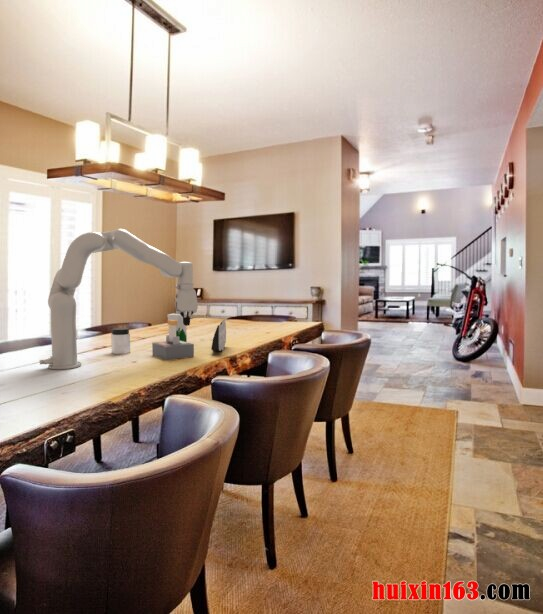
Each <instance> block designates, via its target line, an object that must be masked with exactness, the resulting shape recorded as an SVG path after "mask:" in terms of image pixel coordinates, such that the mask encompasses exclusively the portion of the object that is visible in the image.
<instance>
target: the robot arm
mask: <svg viewBox="0 0 543 614" xmlns="http://www.w3.org/2000/svg"><path fill="white" fill-rule="evenodd" d="M118 249H119V250H120V251H122V252H124V253H125V254H128V255H129V256H131V257H132V258H134V259H136V260H137V261H139V262H141V263H143V264H148V265H151V266H153V267H155V268H157V269H158V270H159V273H160V275H161V276H162V277H165V278H177V280H176V281H177V284H176V285H175V286H174V289H176V293H175V298H174V299H175V301H174V308H175V309H174V310H176V314H180V315H181V316H182V317H183V324H184V325H185V326H186V327H188V326H190V325H191V317H192V315H193V314H195V313H197V312H198V311H197V310H198V308H199V307H198V304H199V303H198V296H197V291H196V290H195V289H194V288H195V287H194V265H193V263H192V262H191V261H177V260H176V259H175V258H173V257H171V256H170V255H168V254H167V253H165V252H163V251H161V250H159V249H157V248H156V247H153V246H152V245H151V244H150V245H149V244H148V243H146V242H145V241H144V240H142V239H140V238H138V237H137V236H136V235H134V234H132V233H131V232H129V231H128V230H127V229H124V228H116V229H114V230H110V231H103V232H98V231H90V232H86V233H83V234H80V235H79V236H77V237H76V238H75V239H74V240H72V242H71V243H70V245H69V246H68V248H67V250H66V253H65V256H64V258H63V261H62V263H61V264H62V265H61V268H60V269H58V270H57V271H56V273H55V275H54V278H53V282H52V283H51V287H50V292H49V295H48V299H47V305H48V307H49V309H50V333H51V355H50V357H48V358H47V359H46V358H43V359H39V365H48V368H49V369H50V370H70V369H76V368H79V367H81V366H82V362H81V361H78V346H77V345H78V343H77V339H78V338H77V301H76V299H75V297H74V296H75V292H76V289H77V288H78V287H79V286H80V285H81V283H82V279H83V275H84V271H85V268H86V265H87V261H88V259H89V257H90V255H92V254H94V253H95V254H96V253H102V252H107V251H108V252H109V251H114V250H118ZM180 311H181V312H180Z"/></svg>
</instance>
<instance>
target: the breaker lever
mask: <svg viewBox="0 0 543 614" xmlns="http://www.w3.org/2000/svg"><path fill="white" fill-rule="evenodd" d="M166 323H167V326H168V335H169V338H168V341H169V342H171V343H173V337H176V325H177V321H175V320H168V319H167V322H166Z"/></svg>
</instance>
